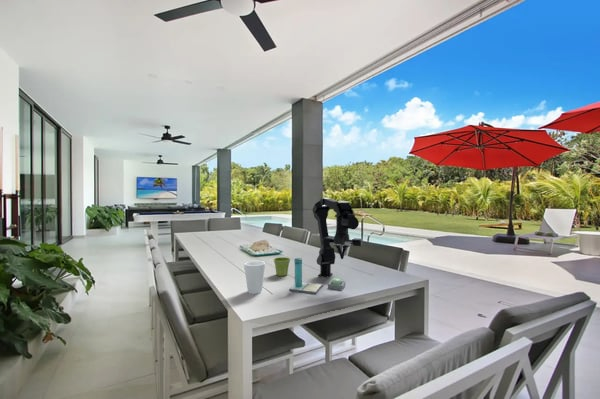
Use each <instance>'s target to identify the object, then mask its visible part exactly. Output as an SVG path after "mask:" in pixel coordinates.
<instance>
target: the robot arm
mask: <svg viewBox="0 0 600 399" xmlns="http://www.w3.org/2000/svg"><path fill="white" fill-rule="evenodd" d="M331 209H332V210H333V212H334V213H336V214H335V215H334V217H335V218H336V220H335V221H336V224H335V225H336V227H335V228H336V229H335V234H334V236H329V230H328V222H327V218H328V217H329V212H330V210H331ZM312 213H313V218H314V219H316V221H317V225H318V233H319V239H320V248H319V250H318V257H317V258H316V264H317V265H319V268H320V271H319V272H320V273H319V274H318V275H317V276H318V277H324V278H325V277H326V278H327V277H328V278H330V277H332V275H333V272H331V270H332V266H331V265H335V261H336V253H335V248H334V247H336V249H337V250H338V253H339V256H340V260H344V257H345V255H346V252H347V249H348V248H349V247H350V246H351V245H353V246H355V247H361V246H362V245H363V239H362V238H359V237H358V238H356V237H355V238H353V239H350V234H349V229H350V230H355V229H358V227H359V223H360V222H359V218H357V217H356V215H355V213H354V209H353V208H352V205H351V204H350V202H349V201H348V200H347V201H345V200H344V201H343V200H341V201H338V200H336V199H333V198H330V197H322V198H320V199H319V201H317V202H315V203H314V205H313V207H312ZM330 243H333V247H332V246H331V244H330Z"/></svg>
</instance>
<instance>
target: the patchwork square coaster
mask: <svg viewBox="0 0 600 399" xmlns="http://www.w3.org/2000/svg"><path fill="white" fill-rule="evenodd" d="M323 287H324V284H323V283H313V282H304V281H302V287H295V284H293V285H292V286H291V287H290V288H289V290H288V291H289V292H294V293H295V292H296V293H305V294H311V295H312V294H313V295H317V294H318V293H319V292H320V290H321V289H322V288H323Z"/></svg>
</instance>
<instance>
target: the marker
mask: <svg viewBox="0 0 600 399" xmlns="http://www.w3.org/2000/svg"><path fill="white" fill-rule="evenodd" d="M302 282H303V258H302V257H296V258H294V285H295V287H302Z"/></svg>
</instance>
